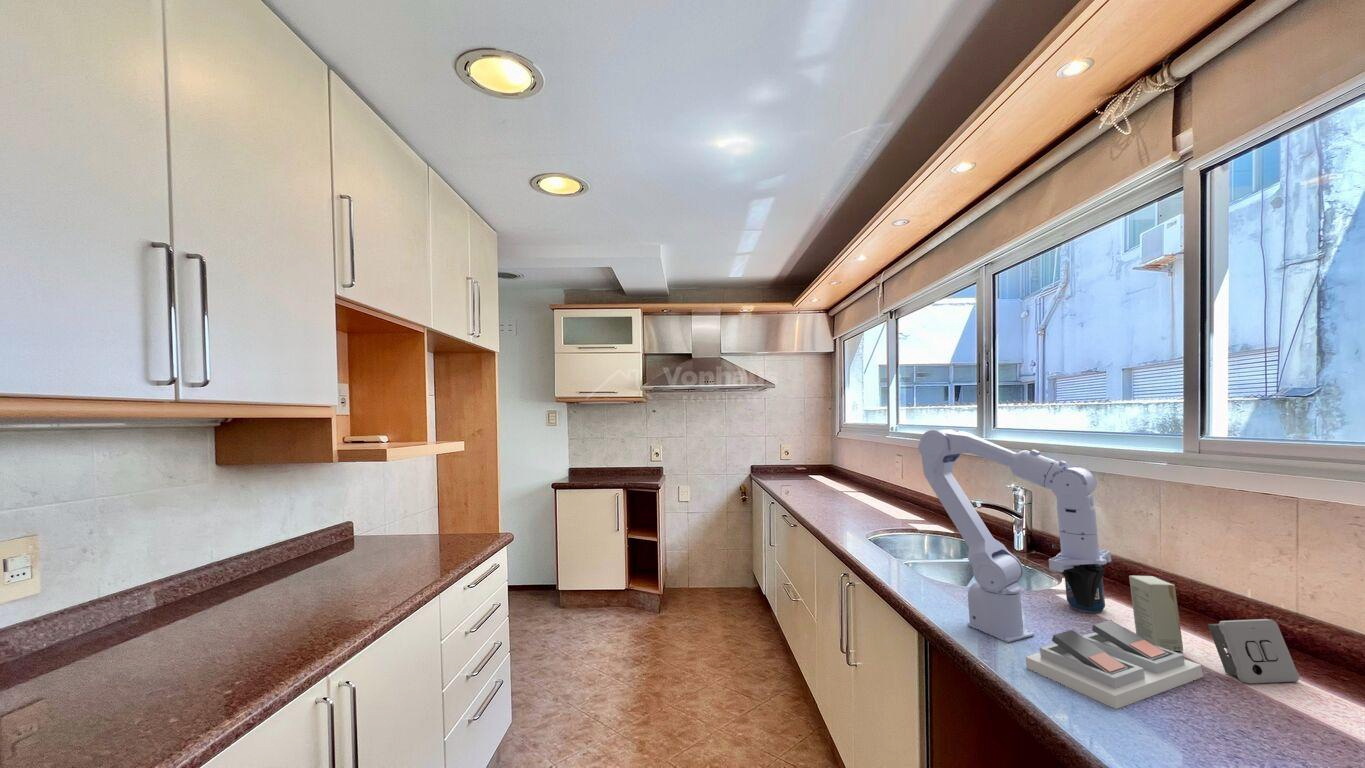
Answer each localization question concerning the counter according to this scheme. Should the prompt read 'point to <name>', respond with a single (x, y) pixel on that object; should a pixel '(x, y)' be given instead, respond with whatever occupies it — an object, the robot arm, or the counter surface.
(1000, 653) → the counter surface
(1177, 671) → the breaker panel
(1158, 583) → the skincare box
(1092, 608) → the soda can
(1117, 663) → the rocker
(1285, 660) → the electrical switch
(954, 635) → the counter surface
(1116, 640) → the rocker
